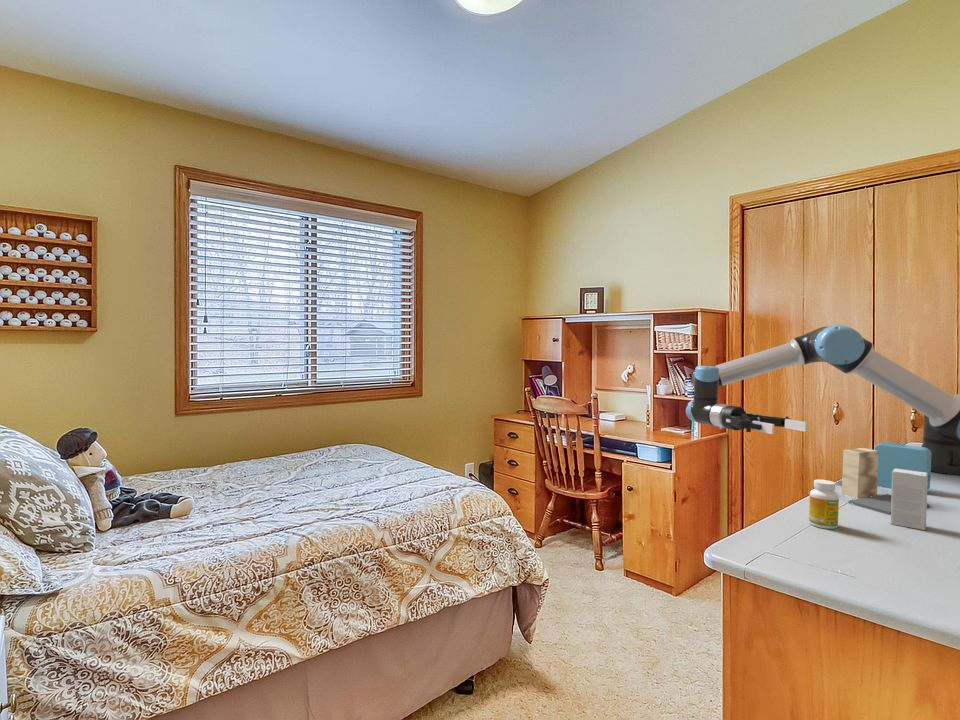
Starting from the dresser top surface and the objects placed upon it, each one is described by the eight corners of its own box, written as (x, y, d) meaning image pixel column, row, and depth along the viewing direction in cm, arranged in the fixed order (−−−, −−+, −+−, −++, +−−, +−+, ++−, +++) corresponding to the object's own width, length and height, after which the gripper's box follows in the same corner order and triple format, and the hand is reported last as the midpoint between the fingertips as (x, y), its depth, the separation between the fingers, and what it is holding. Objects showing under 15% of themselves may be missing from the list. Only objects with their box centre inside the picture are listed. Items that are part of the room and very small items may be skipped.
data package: (929, 491, 147) (932, 448, 146) (926, 494, 144) (928, 450, 143) (876, 482, 156) (878, 441, 155) (872, 485, 153) (874, 443, 152)
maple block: (860, 491, 146) (862, 447, 146) (876, 495, 142) (878, 450, 142) (841, 494, 143) (843, 449, 142) (857, 498, 139) (859, 452, 139)
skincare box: (926, 526, 119) (928, 472, 119) (924, 531, 116) (927, 476, 115) (891, 519, 123) (894, 467, 123) (889, 524, 120) (891, 471, 120)
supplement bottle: (828, 531, 115) (830, 486, 115) (803, 523, 120) (805, 480, 120) (842, 527, 118) (844, 483, 117) (817, 519, 123) (819, 477, 122)
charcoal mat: (887, 496, 142) (887, 494, 142) (929, 506, 133) (929, 504, 133) (848, 503, 135) (848, 500, 135) (889, 514, 127) (889, 512, 127)
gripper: (756, 426, 177) (818, 438, 158) (698, 430, 168) (758, 443, 148) (757, 404, 177) (820, 413, 158) (699, 406, 167) (759, 416, 148)
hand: (790, 428), depth 153 cm, fingers open, 13 cm apart
